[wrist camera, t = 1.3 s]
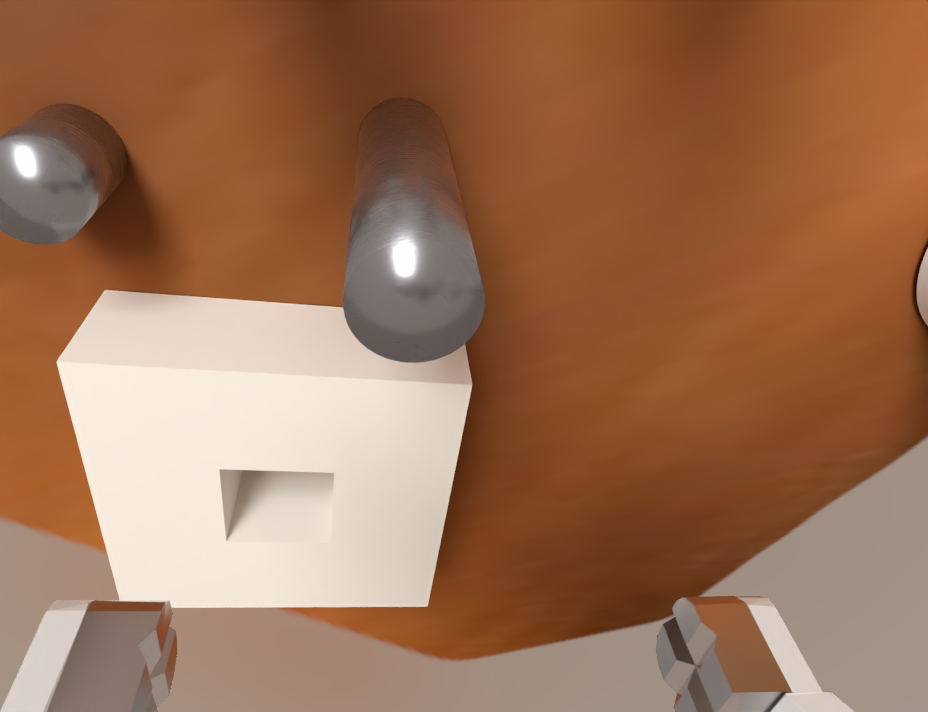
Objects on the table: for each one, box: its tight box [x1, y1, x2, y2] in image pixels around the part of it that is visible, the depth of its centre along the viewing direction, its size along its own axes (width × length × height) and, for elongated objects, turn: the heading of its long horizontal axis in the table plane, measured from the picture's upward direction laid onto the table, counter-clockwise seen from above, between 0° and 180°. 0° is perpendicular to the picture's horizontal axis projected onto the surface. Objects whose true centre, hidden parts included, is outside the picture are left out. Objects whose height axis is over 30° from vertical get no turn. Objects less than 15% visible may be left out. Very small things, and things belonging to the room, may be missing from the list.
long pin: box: [343, 98, 485, 363], centre depth 24 cm, size 4×4×14 cm
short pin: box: [0, 104, 128, 244], centre depth 26 cm, size 4×4×5 cm
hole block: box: [57, 290, 472, 608], centre depth 37 cm, size 18×18×6 cm
